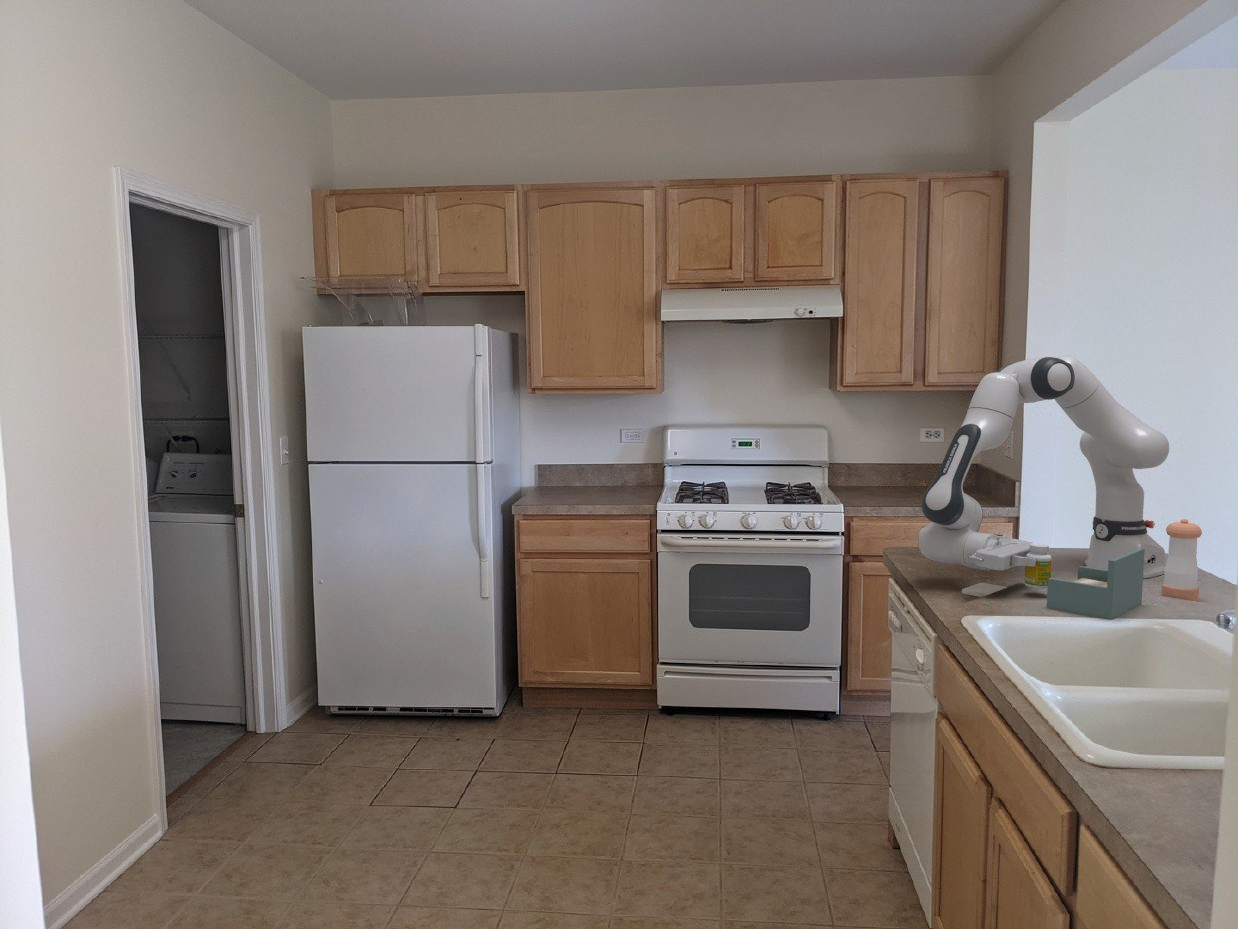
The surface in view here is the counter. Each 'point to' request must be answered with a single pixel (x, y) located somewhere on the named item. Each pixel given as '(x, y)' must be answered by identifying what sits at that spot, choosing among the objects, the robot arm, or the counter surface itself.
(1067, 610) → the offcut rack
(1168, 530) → the pepper shaker
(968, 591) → the plate
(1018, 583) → the counter surface
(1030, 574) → the supplement bottle
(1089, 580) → the birch offcut top
